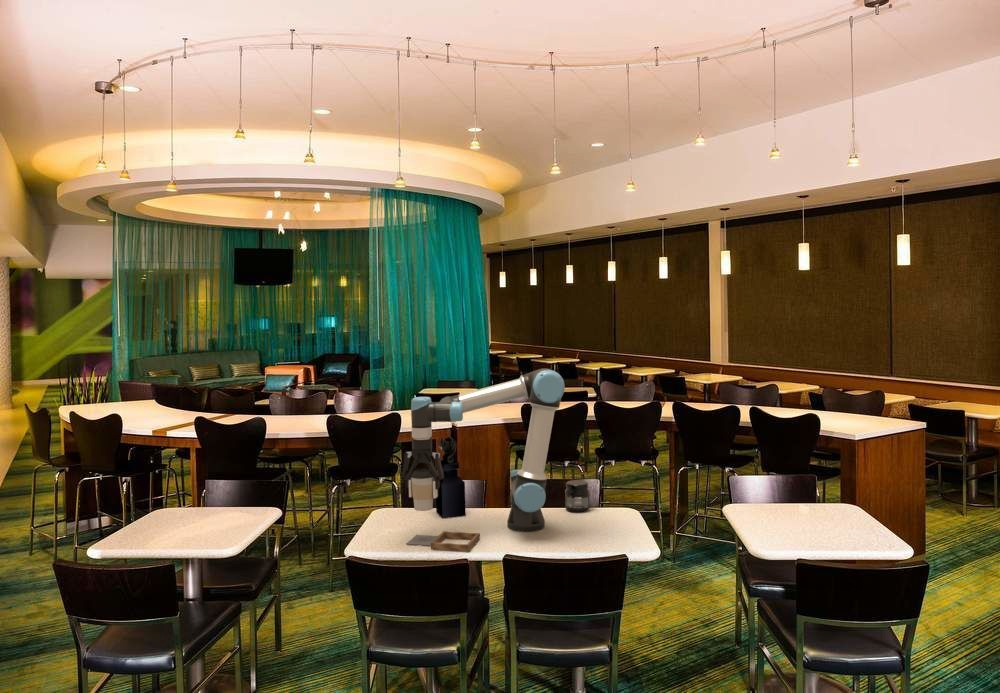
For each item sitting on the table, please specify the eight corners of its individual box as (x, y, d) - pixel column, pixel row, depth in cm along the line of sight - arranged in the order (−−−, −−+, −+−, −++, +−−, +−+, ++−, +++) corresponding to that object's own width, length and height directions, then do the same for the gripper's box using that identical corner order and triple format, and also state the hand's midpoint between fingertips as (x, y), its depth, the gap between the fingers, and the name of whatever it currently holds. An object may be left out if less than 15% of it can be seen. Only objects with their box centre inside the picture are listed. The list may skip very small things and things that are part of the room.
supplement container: (578, 505, 321) (578, 478, 321) (594, 510, 312) (594, 483, 312) (560, 509, 315) (559, 482, 315) (576, 514, 306) (575, 486, 306)
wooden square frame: (479, 539, 276) (479, 533, 276) (469, 552, 262) (468, 545, 262) (443, 537, 280) (443, 531, 280) (431, 549, 266) (430, 543, 266)
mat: (443, 537, 280) (443, 536, 280) (433, 546, 269) (433, 545, 269) (416, 535, 283) (416, 534, 283) (406, 544, 272) (406, 543, 272)
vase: (431, 511, 318) (429, 431, 316) (457, 508, 322) (455, 429, 320) (439, 519, 304) (437, 436, 303) (466, 516, 308) (463, 434, 306)
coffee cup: (423, 504, 282) (422, 465, 281) (440, 507, 276) (439, 468, 275) (406, 509, 275) (405, 470, 274) (423, 513, 269) (422, 473, 268)
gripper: (452, 437, 275) (453, 495, 276) (398, 435, 280) (400, 493, 281) (446, 440, 268) (447, 500, 269) (391, 439, 273) (392, 498, 274)
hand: (423, 496), depth 275 cm, fingers closed on coffee cup, 9 cm apart
